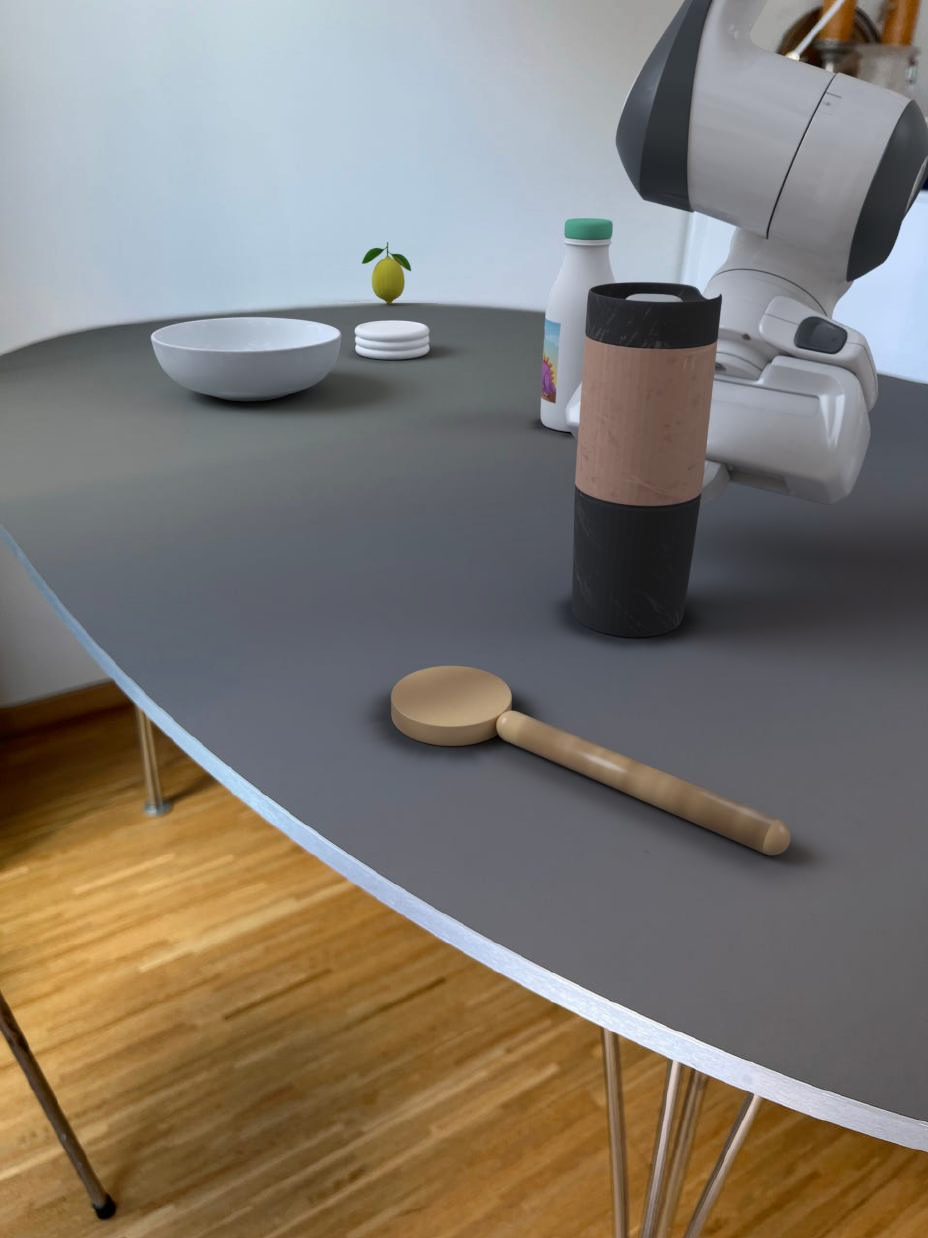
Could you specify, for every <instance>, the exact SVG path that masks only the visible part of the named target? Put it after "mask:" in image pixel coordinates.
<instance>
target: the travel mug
mask: <svg viewBox="0 0 928 1238" xmlns="http://www.w3.org/2000/svg"><path fill="white" fill-rule="evenodd" d="M721 305H722V294H720V295H719V296H718V297H716V298H712V299H707V298H705V297H703V296H702V293H701V290H699V288H697V287H696V286H694V285H690V284H685V283H675V282H659V281H657V282H655V281H631V282H630V281H628V282H616V283H610V284H603V285H598V286H595V287H592V288H590V290H589V292H588V299H587V314H586V329H585V344H584V358H583V373H582V388H581V402H580V417H579V432H578V442H577V448H576V460H575V461H576V464H575V477H574V508H573V509H574V510H573V544H572V545H573V546H572V547H573V549H572V550H573V551H572V584H571V585H572V587H571V588H572V589H571V591H572V592H571V593H572V595H571V609H572V613H573V616H574V618H575V619H576V620H577V621H578V622H579V623H581V624H582V625H583V626H585V627H587V628H588V629H591V630H593V631H595V632H599V633H602V634H605V635H610V636H616V637H623V638H649V637H655V636H661V635H664V634H667V633H669V632H671V631H674V630H675V629H676V628H678V627H679V626H680V624H681V623H682V620H683V619H684V613H685V608H686V601H687V595H688V588H689V582H690V576H691V575H690V574H691V568H692V561H693V555H694V547H695V540H696V534H697V529H698V528H697V527H698V521H699V514H700V511H699V508H700V501H701V492H702V486H703V476H704V467H705V457H706V447H707V438H708V428H709V419H710V409H711V399H712V390H713V380H714V371H715V361H716V351H717V342H718V332H719V323H720V313H721Z"/></svg>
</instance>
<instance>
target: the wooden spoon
mask: <svg viewBox="0 0 928 1238" xmlns="http://www.w3.org/2000/svg"><path fill="white" fill-rule="evenodd" d="M512 703H513V695H512V691H511V689H510V687H509V685H508V684H507V683H506V681H504V680H503V679H501V678H500V677H499V676H497V675H496V674H493V673H491V672H489V671H486V670H483V669H480V668H477V667H476V668H475V667H470V666H462V665H440V666H432V667H426V668H423V669H420V670H417V671H414V672H412V673H409V674H408V675H406V676H404V677H402V678H401V679H400V680H399V681H397V683H395V684H394V686H393V688H392V689H391V693H390V704H391V705H390V707H391V709H390V711H391V712H390V714H391V720H392V722H393V725H394V726H395V727H396V728H397V730H398V731H399V732H401V733H402V734H404V735H405V736H406V737H409V738H410V739H412V740H415V741H418V742H421V743H424V744H429V745H433V746H440V747H441V746H442V747H461V746H462V747H463V746H470V745H476V744H479V743H482V742H486V741H488V740H490V739H493V738H495V737H497V735H498V737H500V738H501V739H502V740H503V741H504V742H507V743H509V744H512V745H514V746H516V747H518V748H520V749H523V750H526V751H528V752H530V753H532V754H534V755H537V756H539V757H541V758H544V759H547V760H548V761H551V762H553V763H556V764H558V765H560V766H562V767H564V768H567V769H569V770H571V771H573V772H576V773H578V774H581V775H583V776H585V777H588V778H589V779H592V780H595V781H597V782H599V783H601V784H604V785H605V786H608V787H611V788H613V789H615V790H617V791H619V792H622V793H624V794H627V795H628V796H631V797H634V798H635V799H638V800H640V801H642V802H645V803H647V804H649V805H652V806H654V807H656V808H658V809H661V810H663V811H666V812H668V813H670V814H672V815H674V816H677V817H679V818H680V819H681V818H682V819H684V820H685V821H688V822H691V823H693V824H695V825H698V826H700V827H702V828H704V829H707V830H709V831H711V832H713V833H716V834H717V835H720V836H723V837H725V838H727V839H730V840H732V841H734V842H737V843H739V844H741V845H744V846H746V847H748V848H749V849H753V850H754V851H757V852H759V853H761V854H764V855H767V856H777V855H781V854H782V853H784V852H785V851H786V850H787V849H788V847H789V846H790V843H791V839H792V838H791V832H790V828H789V827H788V825H786V824H785V823H784V822H783V821H782V820H780V819H778V818H776V817H774V816H771V815H769V814H766V813H764V812H761V811H759V810H757V809H755V808H752V807H750V806H747V805H745V804H742V803H740V802H737V801H735V800H733V799H730V798H728V797H725V796H724V795H720V794H718V793H715V792H713V791H711V790H708V789H706V788H703V787H701V786H699V785H696V784H694V783H692V782H689V781H686V780H684V779H682V778H679V777H677V776H675V775H672V774H669V773H667V772H665V771H662V770H660V769H657V768H655V767H653V766H650V765H649V764H645V763H643V762H640V761H638V760H636V759H633V758H631V757H628V756H627V755H624V754H621V753H619V752H616V751H614V750H612V749H609V748H606V747H604V746H602V745H600V744H597V743H595V742H592V741H590V740H587V739H584V738H582V737H581V736H577V735H575V734H573V733H570V732H567V731H565V730H562V729H560V728H558V727H556V726H553V725H551V724H549V723H546V722H544V721H541V720H539V719H536V718H534V717H532V716H529V715H526V714H524V713H522V712H519V711H517V710H512V709H513V708H512V707H513V706H512V705H513V704H512Z"/></svg>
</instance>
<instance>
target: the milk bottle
mask: <svg viewBox="0 0 928 1238" xmlns="http://www.w3.org/2000/svg"><path fill="white" fill-rule="evenodd" d="M613 227H614V224H613V221H612V220H610V219H607V218H595V217H594V218H591V217H588V218H587V217H580V218H579V217H577V218H569V219H566V220H565V221H564V231H563V232H564V233H563V235H564V240H563V243H564V244H565V254H564V258H563V261H562V263H561V267H560V269H559V272H558V274H557V276H556V279H555V280H554V282H553V285H552V287H551V289H550V292H549V295H548V298H547V302H546V307H545V318H544V331H543V347H542V348H543V349H542V368H541V369H542V370H541V389H540V390H541V391H540V392H541V393H540V421H541V423H542V425H544V426H545V427H546V428H550V429H552V430H556V431H561V432H569V433H571V431H570V430H569V428H568V426H567V423H566V419H565V409H566V407H567V405H568V403H569V401H570V399H571V398H572V396H573V394H574V393H575V391H576V390H577V388H578V387H579V385H580V383H581V382H582V373H583V358H584V344H585V329H586V314H587V299H588V292H589V290H590V288H592V287H595V286H598V285H603V284H610V283H617V281H616V279H615V276H614V273H613V270H612V266H611V261H610V254H609V253H610V252H609V251H610V250H609V248H610V246H611V244H612V237H613V231H614V230H613Z"/></svg>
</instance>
